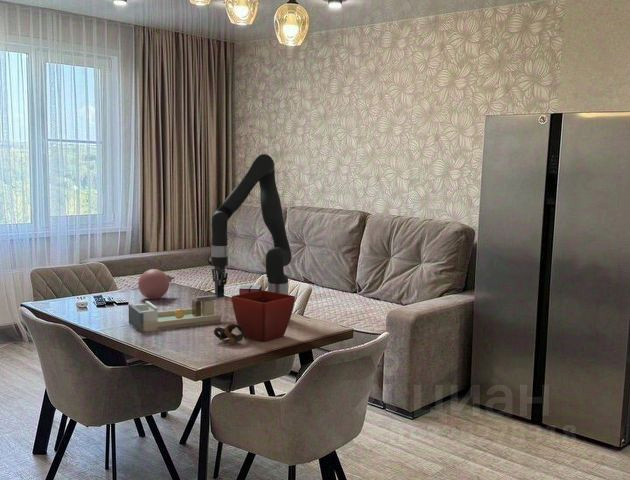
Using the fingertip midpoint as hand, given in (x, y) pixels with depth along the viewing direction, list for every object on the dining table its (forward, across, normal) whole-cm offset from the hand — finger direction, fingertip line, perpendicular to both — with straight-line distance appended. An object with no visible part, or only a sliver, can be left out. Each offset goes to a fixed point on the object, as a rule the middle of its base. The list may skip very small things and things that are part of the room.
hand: (219, 292), depth 288 cm
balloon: (+12, +52, +13) cm, 55 cm away
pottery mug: (+12, -39, +12) cm, 42 cm away
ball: (+8, 0, +19) cm, 21 cm away
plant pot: (+12, -37, -4) cm, 39 cm away
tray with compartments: (+12, 0, +20) cm, 23 cm away
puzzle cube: (+12, +14, -22) cm, 29 cm away
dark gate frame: (+10, 0, +5) cm, 11 cm away
